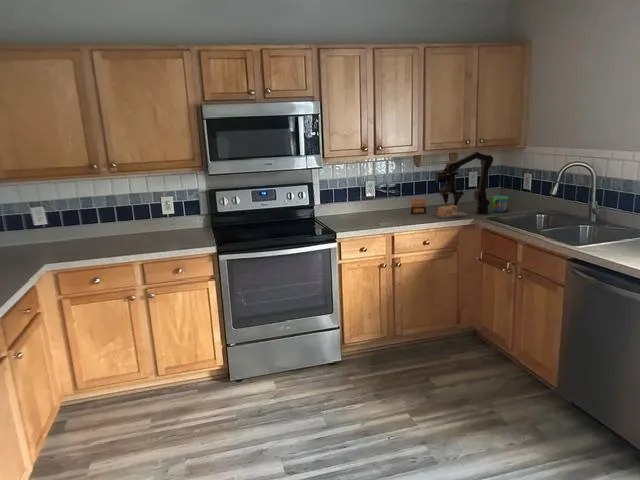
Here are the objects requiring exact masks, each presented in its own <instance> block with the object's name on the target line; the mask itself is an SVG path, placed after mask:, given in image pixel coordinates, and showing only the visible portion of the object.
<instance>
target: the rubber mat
mask: <svg viewBox="0 0 640 480" xmlns="http://www.w3.org/2000/svg"><path fill="white" fill-rule="evenodd" d="M434 216H436V217H437V218H439V219H448V218H449V219H450V218H459V217H462V218H463V217H469V216H470V214H469V213H466V212H463V211H457V215H451V216H445V217H442V216H438V213H435V214H434Z"/></svg>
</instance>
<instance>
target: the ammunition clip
mask: <svg viewBox="0 0 640 480" xmlns="http://www.w3.org/2000/svg"><path fill="white" fill-rule="evenodd" d="M426 201H427V200H426V197H425V196H424V197H423V196H421V197H420V196H419V197H411V201H410V215H426V214H427V202H426Z"/></svg>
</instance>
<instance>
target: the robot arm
mask: <svg viewBox="0 0 640 480" xmlns="http://www.w3.org/2000/svg"><path fill="white" fill-rule="evenodd" d="M473 160H479V161H480V167H481V170H480V177H479V183H478V187H477V190H474V193H473V197H474V201H475V202H476V204H477V205H476V212H475V213H476V214H479V215H486V214H487V215H488V214H490V212H489V205H490V203H491V202H490V201H489V200H488V199H487V192H486V188H487V183H488V177H489V172H490V171H489V170H490V168H491V167H492V165H493V161H494V157H493V156H492V155H491V154H484V153H480V152H479V151H473V152H472V153H470V154H468V155H466V156H464V157H462V158H459V159H458V160H454V161H449V162H447V163H446V164H445V167H444V169H443V170H442V172H439V171H436V173H435V176H434V181H435V183H437V184H439V183H445V182H446V183H445V184H444V186H442V187H440V188H439V189H438V194H439V195H441V197H442V198H443V201H444V204H445V205H447V204H448V201H449V195H450V194H452V195H453V196H452V197H453V199H454V200H453V202H454V203H453V204H454V205H453V206H458V203H459V201H460V199H461V197H463V196H464V195H465V193H464V190H457V188H456V185H457V184H458V183H457V182H456V179H457V175H459V172H458V171H457V170H459V169H461V167H462V166H463V165H466V164H468V163H470V162H472V161H473Z"/></svg>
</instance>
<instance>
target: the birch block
mask: <svg viewBox="0 0 640 480" xmlns="http://www.w3.org/2000/svg"><path fill="white" fill-rule="evenodd" d="M458 207H459V206H458V205H456V206H455V205H448V206H447V205H446V206H439V207H438V208H437V214H438V216H442V217H445V216H451V215H457V212H459V211H458Z"/></svg>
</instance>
